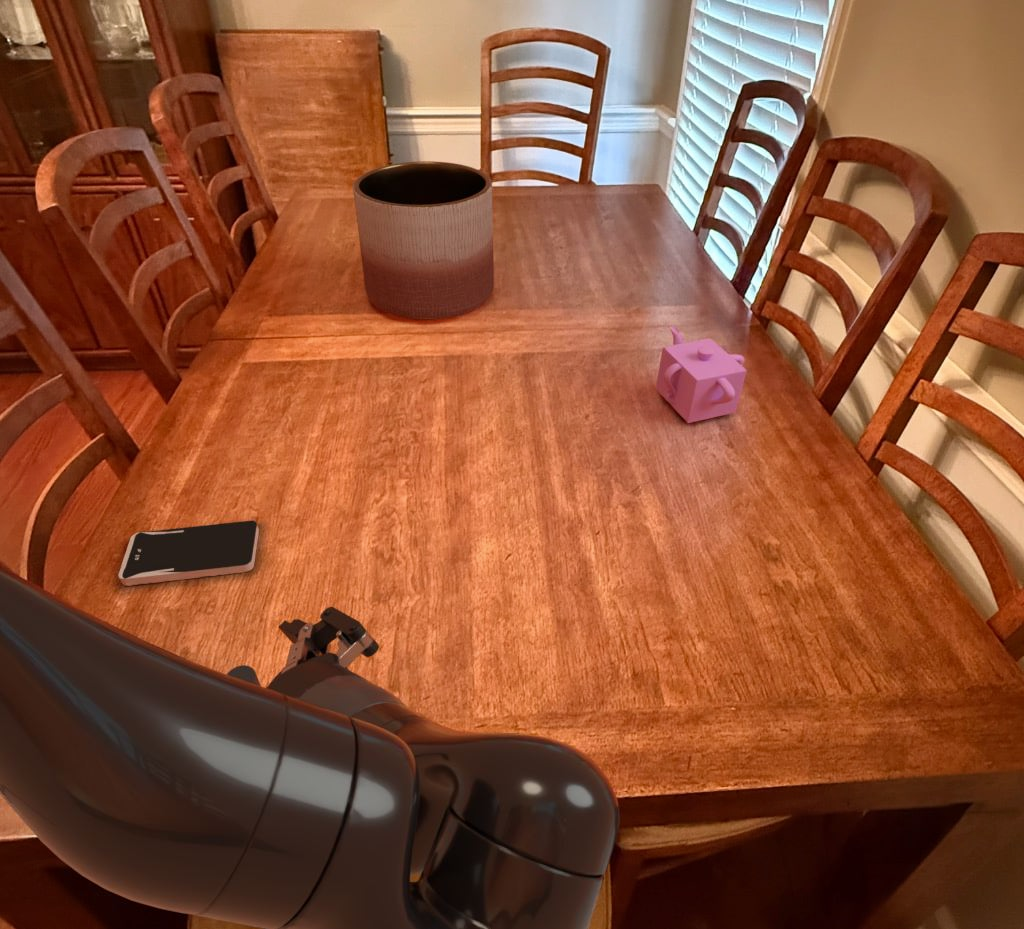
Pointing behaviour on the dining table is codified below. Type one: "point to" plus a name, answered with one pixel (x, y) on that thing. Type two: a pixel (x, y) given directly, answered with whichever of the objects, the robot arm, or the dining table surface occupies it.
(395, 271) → the planter
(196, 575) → the smartphone
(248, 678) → the dark grey cylinder
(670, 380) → the teapot
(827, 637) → the dining table surface
